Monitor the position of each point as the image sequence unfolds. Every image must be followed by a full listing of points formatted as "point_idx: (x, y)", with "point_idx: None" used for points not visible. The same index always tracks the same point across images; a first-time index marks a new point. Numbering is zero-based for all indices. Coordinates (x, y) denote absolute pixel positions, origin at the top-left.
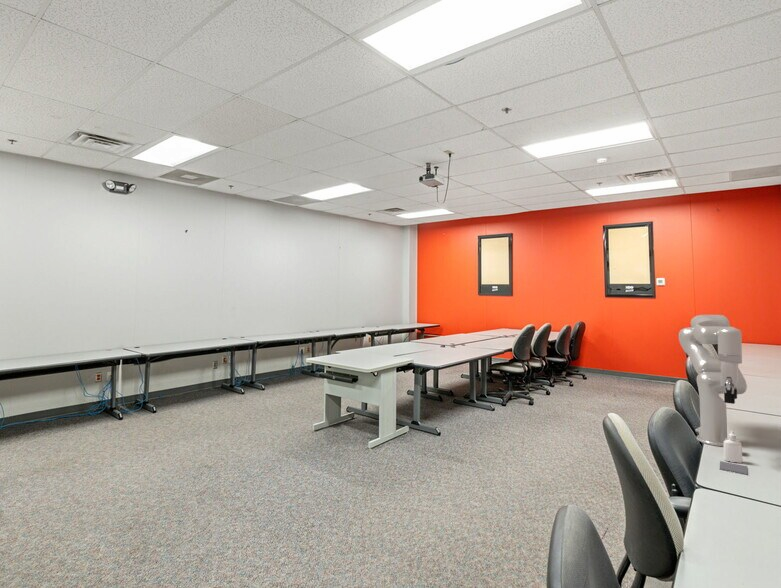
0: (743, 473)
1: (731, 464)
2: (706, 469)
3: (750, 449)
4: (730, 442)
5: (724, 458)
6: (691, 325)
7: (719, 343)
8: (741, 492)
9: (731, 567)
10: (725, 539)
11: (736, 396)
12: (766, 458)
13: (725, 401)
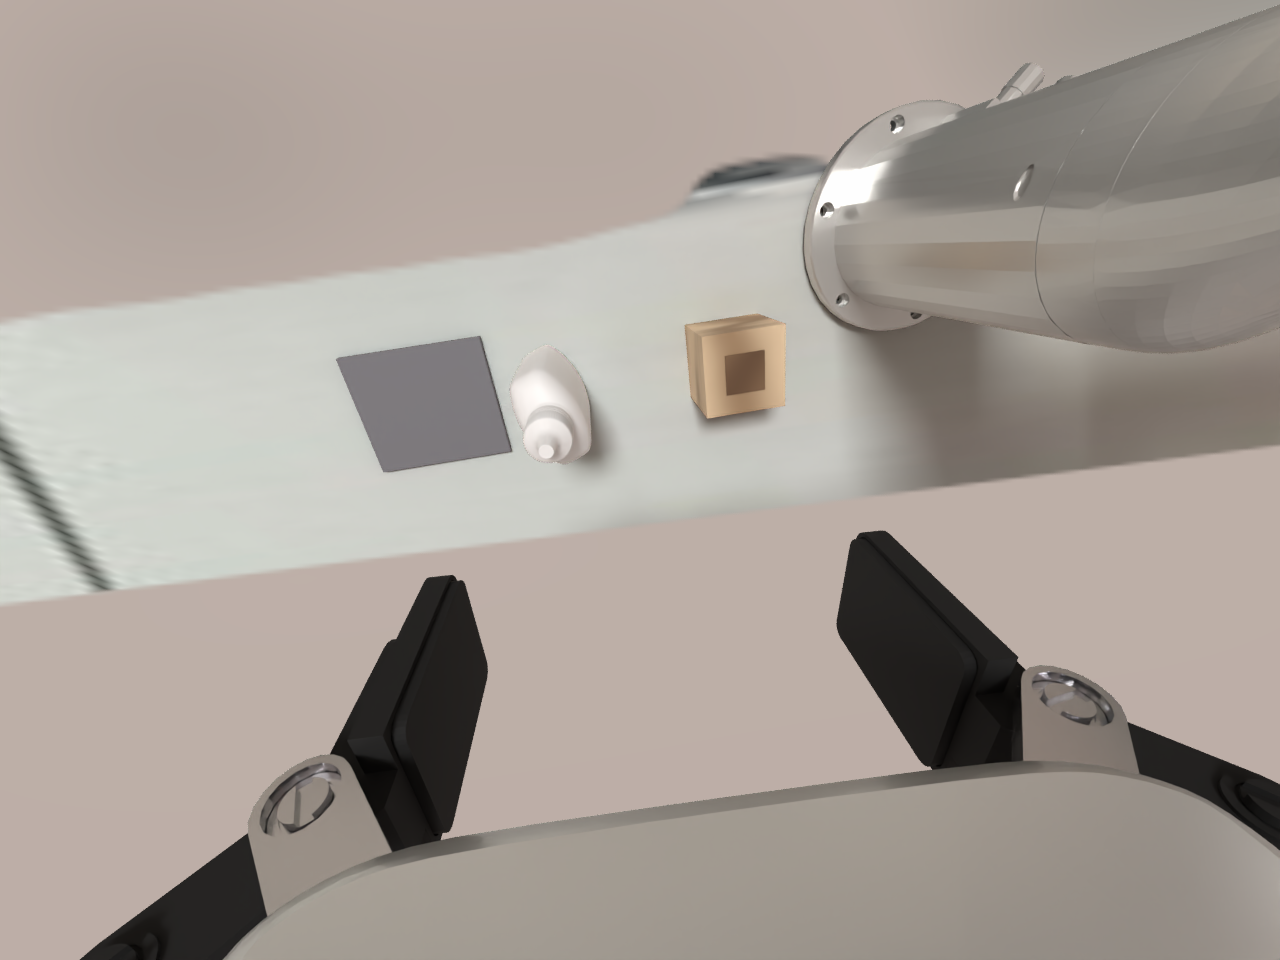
0: (378, 457)
1: (472, 392)
2: (264, 300)
3: (847, 414)
4: (516, 416)
5: (534, 350)
6: None
7: None
8: (95, 490)
9: None
10: None
11: (854, 657)
12: (733, 488)
13: (426, 597)
